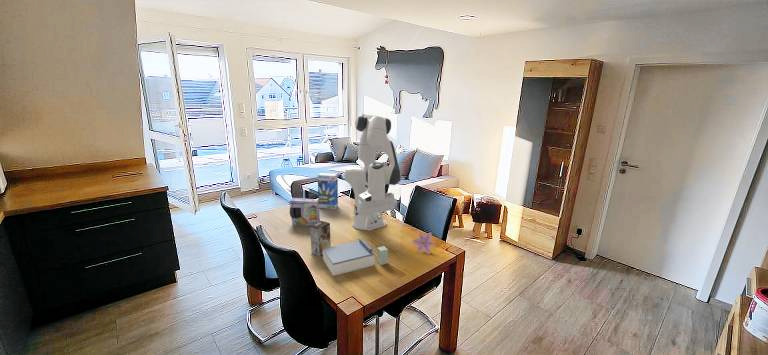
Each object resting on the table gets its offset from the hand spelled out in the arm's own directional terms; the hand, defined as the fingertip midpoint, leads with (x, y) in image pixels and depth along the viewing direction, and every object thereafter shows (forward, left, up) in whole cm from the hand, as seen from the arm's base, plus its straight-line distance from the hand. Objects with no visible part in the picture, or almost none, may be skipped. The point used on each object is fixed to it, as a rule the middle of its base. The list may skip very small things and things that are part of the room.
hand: (375, 219), depth 163 cm
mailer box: (+16, 0, -21) cm, 26 cm away
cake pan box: (+24, -56, -21) cm, 64 cm away
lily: (-27, +6, -21) cm, 35 cm away
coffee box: (+25, -18, -21) cm, 37 cm away
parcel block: (0, +7, -21) cm, 22 cm away
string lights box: (0, -80, -21) cm, 83 cm away
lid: (+16, 0, -15) cm, 21 cm away
